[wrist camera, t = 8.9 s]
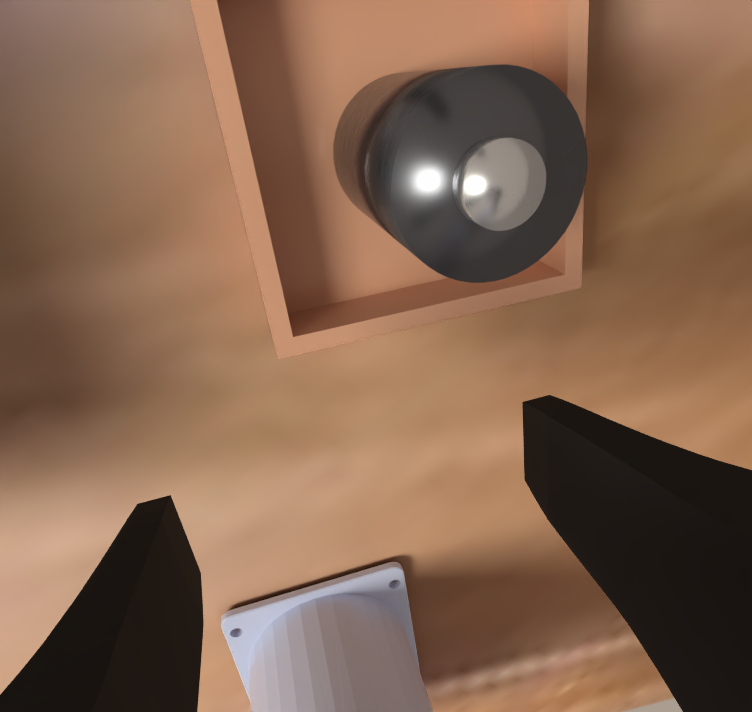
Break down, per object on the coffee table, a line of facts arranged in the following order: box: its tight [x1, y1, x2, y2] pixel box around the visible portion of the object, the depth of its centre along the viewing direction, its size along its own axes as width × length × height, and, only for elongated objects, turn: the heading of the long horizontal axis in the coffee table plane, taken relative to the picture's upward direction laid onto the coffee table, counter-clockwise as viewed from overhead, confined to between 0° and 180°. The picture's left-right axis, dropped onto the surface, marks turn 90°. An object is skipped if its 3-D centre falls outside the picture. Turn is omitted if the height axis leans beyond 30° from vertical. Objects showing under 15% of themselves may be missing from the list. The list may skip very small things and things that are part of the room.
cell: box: [333, 64, 587, 283], centre depth 15 cm, size 4×4×7 cm
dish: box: [190, 0, 589, 359], centre depth 17 cm, size 10×10×2 cm
